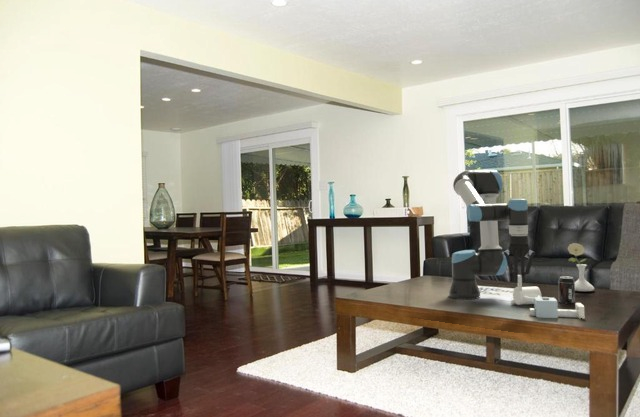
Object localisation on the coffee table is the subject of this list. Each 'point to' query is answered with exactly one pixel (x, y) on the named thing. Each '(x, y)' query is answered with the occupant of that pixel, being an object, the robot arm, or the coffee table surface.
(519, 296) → the mug
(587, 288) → the flower in vase
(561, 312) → the rail
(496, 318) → the coffee table surface
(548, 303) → the block
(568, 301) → the beverage can
